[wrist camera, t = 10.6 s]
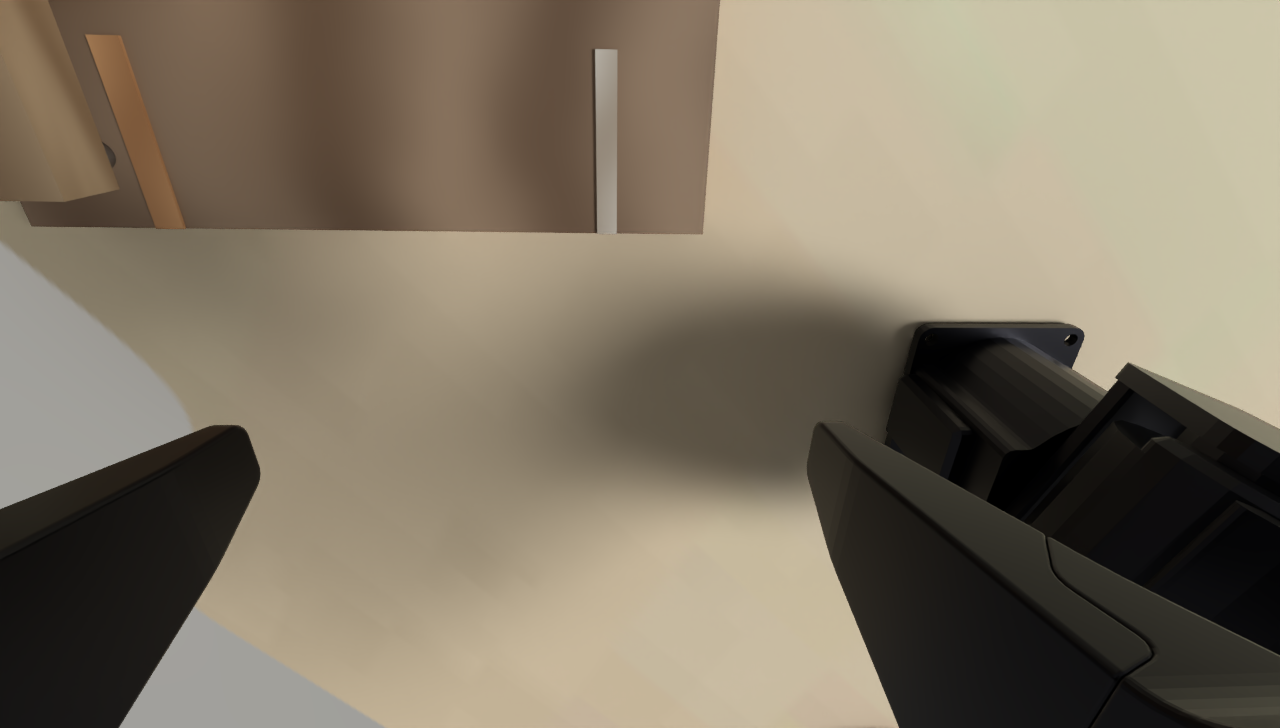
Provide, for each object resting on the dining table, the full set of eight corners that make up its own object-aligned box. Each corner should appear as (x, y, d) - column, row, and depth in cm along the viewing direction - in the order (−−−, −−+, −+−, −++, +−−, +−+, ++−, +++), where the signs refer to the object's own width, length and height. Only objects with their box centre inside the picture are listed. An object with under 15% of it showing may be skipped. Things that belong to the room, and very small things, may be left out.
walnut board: (726, -265, 14) (744, -318, 12) (694, 219, 19) (703, 235, 18) (-130, -314, 13) (-255, -380, 11) (87, 211, 18) (28, 227, 17)
